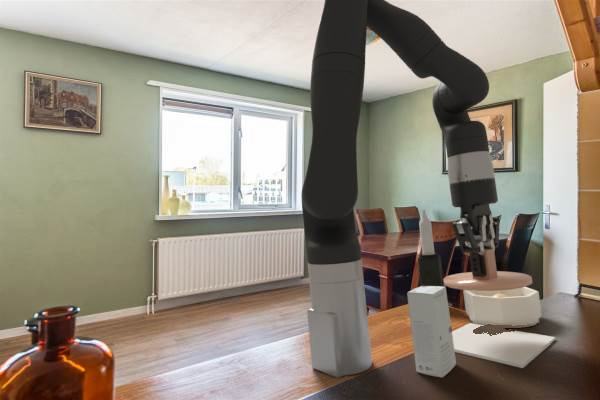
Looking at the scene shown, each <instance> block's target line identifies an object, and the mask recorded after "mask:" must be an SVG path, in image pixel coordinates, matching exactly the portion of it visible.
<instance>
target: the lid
mask: <svg viewBox="0 0 600 400" xmlns="http://www.w3.org/2000/svg"><path fill="white" fill-rule="evenodd" d="M483 255H484V258H485V266H486V273H487V275H486V276H484V277H475V276H473V274H472V271H469V272H460V273H455V274H450V275H447V276H445V277H443V283H444V287H446V288H450V289H456V290H461V291H462V290H474V291H496V290H510V289H517V288H522V287H528V286H531V285H532V284H533V279H532V278H533V277H532V276H531V275H529V274H527V273H522V272H514V271H504V270H503V271H501V270H500V271H499V270H497V263H496V262H497V261H496V255H495V251H494V249H484V254H483ZM469 260H470V259H469ZM470 262H471V260H470ZM470 267H471V266H470ZM471 269H472V267H471Z"/></svg>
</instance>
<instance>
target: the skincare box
mask: <svg viewBox="0 0 600 400" xmlns="http://www.w3.org/2000/svg"><path fill="white" fill-rule="evenodd" d="M406 295H407V304H408V311H409V321H410V328H411V338H412V339H411V340H412V347H413V356H414V364H415V370H416V372H417V373H418V374H423V375H427V376H432V377H436V378H445V376H446V375H448V373H450V372H451V371H452V370H453V368H454V367H455V366H456V364H457V359H456V352H455V351H454V343H453V336H452V332H453V330H452V322H451V317H450V316H451V315H450V309H449V301H448V293H447V286H444V287H442V286H419V287H415V288H413V289H412V290H410V291H408V292H407V293H406Z"/></svg>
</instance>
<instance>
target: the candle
mask: <svg viewBox="0 0 600 400" xmlns="http://www.w3.org/2000/svg"><path fill="white" fill-rule="evenodd" d="M421 211H422V212H421V213H422V214H421V218H420V221H419V223H418V224H419V234H420V241H421V242H420V243H421V252H422V253H420V254H419V255H418V256H419V257H417V264H418V265H417V266H418V274H419V285H420V286H419V287H421V286H442V287H445V285H444V280H443V279H444V275H443V267H442V266H443V265H442V258H441V255H439V253H437V252H436V253H435V247H434V245H435V244H434V236H433V235H434V234H433V228H432V221H431V220H430V219H429V218H428V215H427V213H426V209H425V208H424V209H422V210H421Z"/></svg>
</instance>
